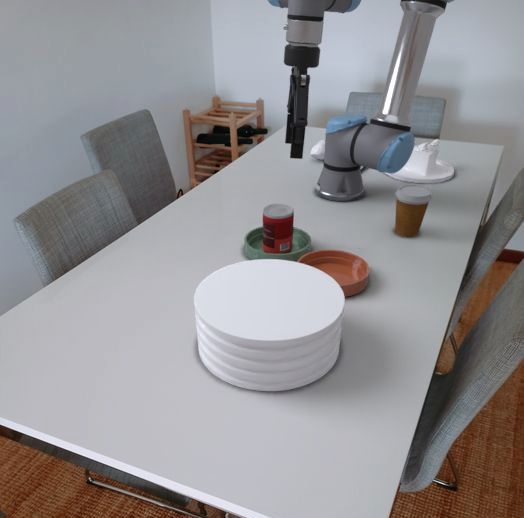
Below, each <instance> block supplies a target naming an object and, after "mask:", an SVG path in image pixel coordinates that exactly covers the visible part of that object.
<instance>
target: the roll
mask: <svg viewBox="0 0 524 518" xmlns="http://www.w3.org/2000/svg"><path fill="white" fill-rule="evenodd" d="M324 152H325V139H321V140H319V141H318V142H316V144H315V145H314V146H312V148H311V150H310V153H309V154H310V156H311V157H312V158H314V159H316V160H318V161H324Z"/></svg>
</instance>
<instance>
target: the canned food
mask: <svg viewBox="0 0 524 518" xmlns="http://www.w3.org/2000/svg"><path fill="white" fill-rule="evenodd" d="M294 220H295V209H294V207H292V206H291V205H288V204H284V203H272V204H269V205H266V206H264V207H263V209H262V226H263V250H264V252H265V253H272V254H286V253H290V252H291V250H292V243H293V227H294Z"/></svg>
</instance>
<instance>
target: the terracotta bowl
mask: <svg viewBox="0 0 524 518" xmlns="http://www.w3.org/2000/svg"><path fill="white" fill-rule="evenodd" d="M297 262H298V263H302V264H306V265H309V266H311V267H314V268H316V269H319V270H321V271H323V272H324V273H326V274H328V275H329V276H330V277H332V278H333V279H334V280H335V281H336V282H337V283H338V284H339V286H340V287H341V289H342V291H343V293H344V297H345V298H346V297H351V296H354V295H357V294H359V293H361V292H362V291H363V290H365V289H366V288H367V286H368V283H369V278H370V277H369V276H370V271H371V270H370V266H369V264H368V262H367V261H365V260H364V258H362V257H360V256H359V255H358V254H354V253H351V252H349V251H344V250H341V249H340V250H339V249H318V250H313V251H311V252H310V253H307V254H305V255H303V256H301V257H300V258H299V259H298V261H297Z"/></svg>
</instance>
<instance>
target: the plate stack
mask: <svg viewBox="0 0 524 518" xmlns="http://www.w3.org/2000/svg"><path fill="white" fill-rule="evenodd" d="M345 304H346V297H344V293H343V291H342V289H341V287H340V286H339V284H338V283H337V282H336V281H335V280H334V279H333V278H332V277H330V276H329V275H328V274H326V273H324V272H323V271H321V270H319V269H316V268H314V267H311V266H309V265H306V264H302V263H298V262H293V261H287V260H278V259H259V260H251V259H250V260H243V261H240V262H235V263H232V264H228V265H225V266H223V267H220V268H219V269H216V270H214V271H213V272H211V273H210V274H208V275H207V276H206V277H204V278H203V279H202V281H201V282H200V283H199V284H198V286H197V287H196V289H195V291H194V295H193V306H194V315H195V316H194V317H195V327H196V334H197V335H196V336H197V346H198V347H197V348H198V354H199V358H200V360H201V362H202V364H203V365H204V366H205V368H206V369H207V370H208V371H209V372H210V373H211V374H213V375H214V376H215V377H217V378H218V379H220V380H221V381H224V382H226V383H227V384H230V385H232V386H235V387H238V388H242V389H246V390H250V391H257V392H258V391H259V392H283V391H289V390H292V389H293V390H294V389H298V388H301V387H304V386H307V385H309V384H312V383H313V382H316V381H317V380H319V379H321V378H322V377H324V376H325V375H326V374H327V373H329V371H330V370H331V369H332V368H333V367H334V366H335V364H336V362H337V360H338V357H339V353H340V343H341V335H342V329H343V320H344V312H345Z"/></svg>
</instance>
